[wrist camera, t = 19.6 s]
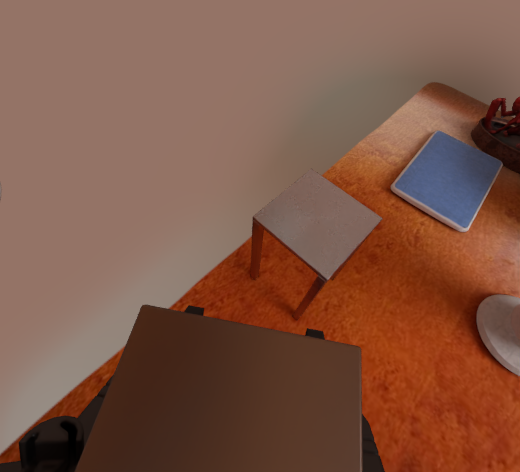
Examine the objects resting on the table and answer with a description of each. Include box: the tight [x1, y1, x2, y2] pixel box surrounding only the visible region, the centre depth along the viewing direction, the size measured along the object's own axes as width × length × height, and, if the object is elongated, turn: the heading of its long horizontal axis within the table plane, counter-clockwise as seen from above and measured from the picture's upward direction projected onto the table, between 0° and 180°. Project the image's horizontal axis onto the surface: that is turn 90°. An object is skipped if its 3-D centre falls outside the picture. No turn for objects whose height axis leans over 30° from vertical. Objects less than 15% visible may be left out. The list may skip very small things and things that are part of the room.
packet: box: [75, 305, 362, 472], centre depth 9 cm, size 5×6×10 cm
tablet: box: [390, 130, 503, 232], centre depth 45 cm, size 19×13×1 cm, turn 139°
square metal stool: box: [250, 169, 382, 320], centre depth 29 cm, size 8×8×14 cm
